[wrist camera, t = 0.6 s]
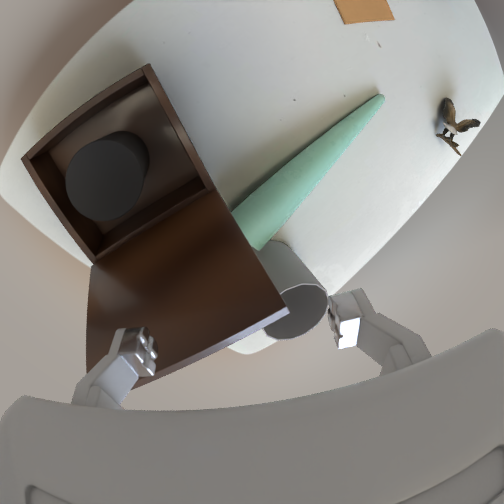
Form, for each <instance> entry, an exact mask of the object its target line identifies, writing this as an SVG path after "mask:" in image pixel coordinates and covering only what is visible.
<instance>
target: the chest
mask: <svg viewBox="0 0 504 504" xmlns="http://www.w3.org/2000/svg"><path fill="white" fill-rule="evenodd" d="M118 131H127V132H131V133H134V134H136V135H137V136H139V137H140V138H141V139H142V140H143V141H144V142H145V144H146V146H147V148H148V151H149V157H150V161H149V167H148V171H147V174H146V177H145V181H144V184H143V188H142V192H141V195H140V197H139V199H138V201H137V203H136V204H135V205H134V207H133V208H132V209H131V210H130V211H129V212H128V213H126V214H125V215H123V216H122V217H120V218H117V219H115V220H111V221H96V220H93V219H90V218H87V217H86V216H84V215H82V214H81V213H80V212H79V211H78V210H77V209H76V208H75V207H74V206H73V205H72V203H71V201H70V199H69V197H68V194H67V191H66V172H67V168H68V166H69V163H70V161H71V159H72V158H73V156H74V155H75V154H76V153H77V152H78V151H79V150H80V149H81V148H82V147H84V146H85V145H87V144H89V143H91V142H93V141H95V140H97V139H100V138H102V137H104V136H106V135H109V134H111V133H114V132H118ZM21 160H22V162H23V164H24V166H25V167H26V169H27V171H28V173H29V174H30V176H31V178H32V179H33V181H34V182H35V184H36V186H37V187H38V189H39V190H40V192H41V194H42V195H43V197H44V198H45V200H46V201H47V203H48V204H49V206H50V207H51V209H52V210H53V212H54V213H55V215H56V216H57V217H58V219H59V220H60V222H61V223H62V224H63V226H64V227H65V229H66V230H67V231H68V233H69V234H70V235H71V237H72V238H73V239H74V241H75V242H76V243H77V244H78V246H79V247H80V248H81V250H82V251H83V252H84V253H85V255H86V256H87V257H88V258H89V260H90V261H91V262H92V263H93V264H95V263H97V262H98V261H100V260H101V259H103V258H104V257H105V256H107V255H108V254H110V253H111V252H113V251H114V250H116V249H118V248H119V247H121V246H122V245H124V244H125V243H127V242H128V241H130V240H131V239H133V238H135V237H136V236H138V235H139V234H141V233H142V232H144V231H146V230H147V229H149V228H150V227H152V226H154V225H155V224H157V223H159V222H160V221H162V220H164V219H165V218H167V217H169V216H170V215H172V214H174V213H175V212H177V211H179V210H181V209H182V208H184V207H186V206H187V205H189V204H191V203H193V202H194V201H196V200H198V199H200V198H202V197H203V196H205V195H207V194H209V193H211V192H212V191H214V190H216V187H215V186H214V184H213V182H212V180H211V178H210V176H209V174H208V172H207V171H206V169H205V167H204V165H203V163H202V161H201V159H200V157H199V156H198V154H197V152H196V150H195V148H194V146H193V144H192V142H191V140H190V139H189V137H188V135H187V133H186V131H185V129H184V127H183V125H182V124H181V122H180V120H179V118H178V116H177V114H176V112H175V110H174V108H173V107H172V105H171V103H170V101H169V99H168V97H167V95H166V93H165V91H164V90H163V88H162V86H161V84H160V82H159V80H158V78H157V76H156V75H155V73H154V71H153V69H152V67H151V65H150V64H147V65H145V66H143V67H142V68H140V69H138V70H136V71H134V72H132V73H131V74H129V75H127V76H126V77H124V78H122V79H121V80H119V81H117V82H116V83H114V84H113V85H111V86H109V87H108V88H106V89H105V90H103V91H102V92H100V93H99V94H97V95H96V96H95V97H93V98H92V99H90V100H89V101H87V102H86V103H85V104H83V105H82V106H81V107H79V108H78V109H77V110H75V111H74V112H73V113H71V114H70V115H69V116H68V117H66V118H65V119H64V120H63V121H61V122H60V123H59V124H58V125H57V126H55V127H54V128H53V129H52V130H51V131H50V132H48V133H47V134H46V135H45V136H44V137H43V138H42V139H41V140H39V141H38V142H37V143H36V144H35V145H34V146H33V147H32V148H31V149H30V150H29V151H28V152H27V153H26V154H25V155H24V156H23V157H22V158H21Z"/></svg>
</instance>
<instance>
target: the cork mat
mask: <svg viewBox="0 0 504 504" xmlns="http://www.w3.org/2000/svg"><path fill="white" fill-rule="evenodd" d="M333 1H334V3H335V5H336V7H337V9H338V11H339V13H340V15H341V17H342V20H343V22H344V24H352V23H360V22H370V21H384V20H395V19H394V17H393V14H392V12H391V10H390V7H389V5H388V3H387V1H386V0H333Z"/></svg>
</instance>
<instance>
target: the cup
mask: <svg viewBox="0 0 504 504" xmlns="http://www.w3.org/2000/svg"><path fill="white" fill-rule="evenodd" d="M252 249H253V250H254V252H255V253H256V255H257V257H258V258H259V260H260V262H261V263H262V265H263V267H264V268H265V270H266V272H267V273H268V275H269V277H270V278H271V280H272V282H273V283H274V285H275V287H276V288H277V290H278V292H279V293H280V295H281V297H282V298H283V300H284V302H285V303H286V305H287V307H288V309H289V311H290V313H289V314H287V315H285V316H284V317H282V318H280V319H278V320H276V321H275V322H273V323H271V324H269V325H267V326H265V327H264V328H262V329H263V331H264V332H265V334H266V336H268V337H270V338H273V339H275V340H291V339H294V338H297V337H299V336H302V335H304V334H306V333H307V332H309V331H310V330H311V329H313V328H314V327H315V326H317V325H318V324H319V322H320V321H321V320H322V318H323V317H324V315H325V314H326V312H327V308H328V305H329V304H328V294H327V291H326V290H325V288H324V287H323V286H322V285H321V284H320V282H319V281H318V280H317V279H316V278H315V276H314V275H313V274H312V273H311V272H310V270H309V269H308V268H307V267H306V266H305V265H304V263H303V262H302V261H301V260H300V259H299V258H298V256H297V255H296V254H295V253H294V252H293V251H292V249H291V248H289V247H288V246H287V245H285V244H284V243H283V242H279V241H271V240H269V241H268V242H267V243H266V244H265V245H264V246H263V247H262V249H261V250H260V251H258V250H256V249H255V248H254V247H252Z"/></svg>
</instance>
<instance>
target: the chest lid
mask: <svg viewBox="0 0 504 504" xmlns="http://www.w3.org/2000/svg"><path fill="white" fill-rule="evenodd" d="M289 313H290V311H289V309H288V307H287V305H286V303H285V302H284V300H283V298H282V297H281V295H280V293H279V292H278V290H277V288H276V287H275V285H274V283H273V282H272V280H271V278H270V277H269V275H268V273H267V272H266V270H265V268H264V267H263V265H262V263H261V262H260V260H259V258H258V257H257V255H256V253H255V252H254V250H253V249H252V247H251V245H250V244H249V242H248V240H247V239H246V237H245V235H244V234H243V232H242V230H241V229H240V227H239V225H238V224H237V222H236V220H235V219H234V217H233V215H232V214H231V212H230V210H229V209H228V207H227V206H226V204H225V202H224V201H223V199H222V197H221V196H220V194H219V192H218V191H217V189H216V190H214V191H212V192H211V193H209V194H207V195H205V196H203V197H202V198H200V199H198V200H196V201H194V202H193V203H191V204H189V205H187V206H186V207H184V208H182V209H181V210H179V211H177V212H175V213H174V214H172V215H170V216H169V217H167V218H165V219H164V220H162V221H160V222H159V223H157V224H155V225H154V226H152V227H150V228H149V229H147V230H146V231H144V232H142V233H141V234H139V235H138V236H136V237H135V238H133V239H131V240H130V241H128V242H127V243H125V244H124V245H122V246H121V247H119V248H118V249H116V250H114V251H113V252H111V253H110V254H108V255H107V256H105V257H104V258H103V259H101V260H100V261H98V262H97V263H95V264H94V265H92V266H91V274H90V284H89V294H88V307H87V328H86V367H87V368H86V370H87V373H88V372H89V371H90V370H91V369H92V368H93V367H94V366H95V365H96V364H97V363H98V362H99V361H100V360H101V359H102V358H103V357H104V356H105V355H108V353H109V350H110V347H111V344H112V341H113V338H114V335H115V332H116V330H117V329H121V328H132V327H147V328H148V329H149V331H150V334H149V335H150V336H152V337H153V338H154V339H155V340H156V342H157V345H158V357H157V358H156V359H155V360H154V362H155V364H156V368H155V374H154V376H147V377H139V378H138V380H137V381H136V383H135V384H134V385H133V387H132V388H131V390H132V389H135V388H137V387H140V386H142V385H145V384H147V383H149V382H152V381H154V380H156V379H159V378H161V377H163V376H166V375H168V374H170V373H172V372H175V371H177V370H179V369H181V368H183V367H186V366H188V365H190V364H192V363H194V362H196V361H198V360H200V359H202V358H205V357H207V356H209V355H211V354H213V353H215V352H217V351H219V350H221V349H223V348H225V347H227V346H229V345H231V344H233V343H235V342H237V341H239V340H241V339H243V338H245V337H247V336H248V335H250V334H252V333H254V332H256V331H258V330H260V329H262V328H264V327H265V326H267V325H269V324H271V323H273V322H275V321H276V320H278V319H280V318H282V317H284V316H285V315H287V314H289Z"/></svg>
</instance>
